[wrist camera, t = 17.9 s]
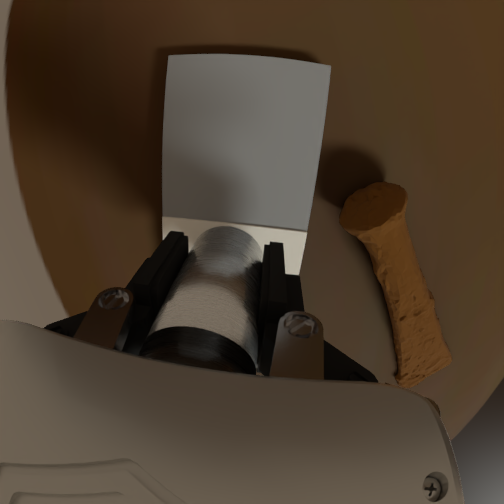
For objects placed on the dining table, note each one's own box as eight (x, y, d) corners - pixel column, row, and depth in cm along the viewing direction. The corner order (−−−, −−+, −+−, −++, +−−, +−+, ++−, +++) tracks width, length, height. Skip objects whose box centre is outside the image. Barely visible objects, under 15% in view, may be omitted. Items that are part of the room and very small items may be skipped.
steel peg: (259, 293, 13) (245, 460, 6) (191, 284, 13) (134, 438, 6) (267, 230, 12) (259, 409, 5) (191, 222, 12) (99, 377, 5)
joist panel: (276, 358, 19) (276, 371, 18) (178, 346, 19) (174, 357, 18) (326, 69, 10) (331, 65, 10) (175, 58, 11) (167, 55, 10)
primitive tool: (450, 358, 19) (464, 387, 16) (399, 386, 21) (408, 416, 18) (384, 165, 13) (414, 182, 10) (297, 218, 15) (303, 250, 12)
